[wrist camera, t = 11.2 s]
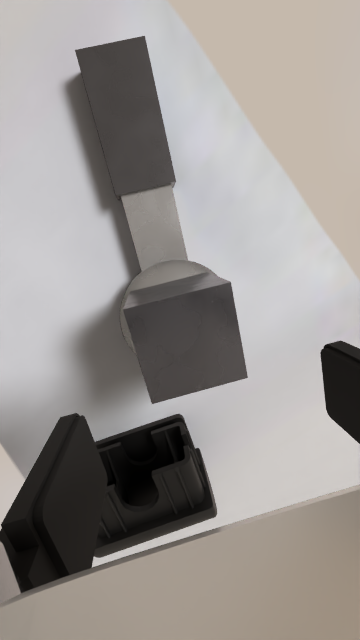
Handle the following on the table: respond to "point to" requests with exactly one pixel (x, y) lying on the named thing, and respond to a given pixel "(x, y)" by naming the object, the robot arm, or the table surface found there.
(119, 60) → the ratchet
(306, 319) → the table surface
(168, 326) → the matte grey cube
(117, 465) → the end cap
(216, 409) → the table surface
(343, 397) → the robot arm
